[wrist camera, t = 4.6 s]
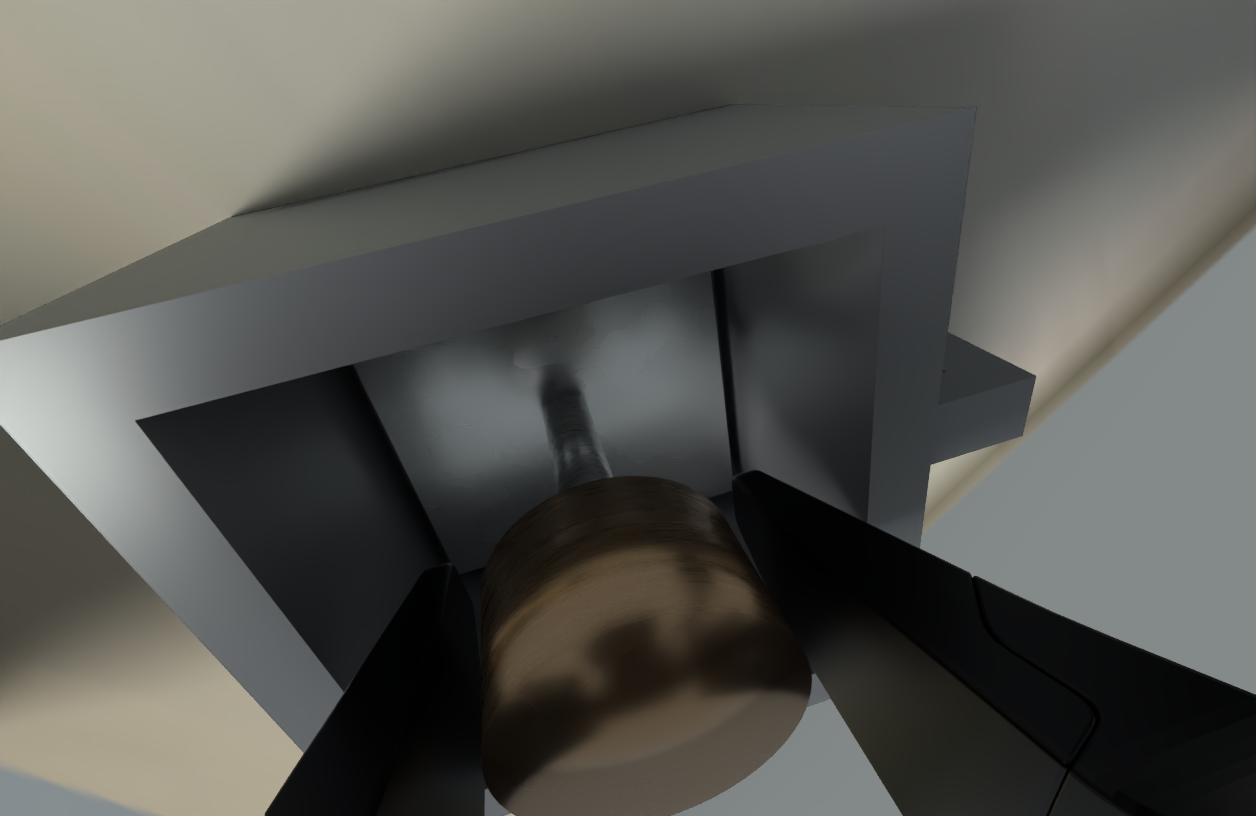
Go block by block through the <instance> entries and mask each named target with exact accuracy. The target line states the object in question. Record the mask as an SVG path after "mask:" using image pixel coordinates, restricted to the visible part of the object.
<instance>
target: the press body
mask: <svg viewBox="0 0 1256 816" xmlns="http://www.w3.org/2000/svg"><path fill="white" fill-rule="evenodd" d="M976 108H977V107H911V106H841V105H771V104H731V105H727V106H722V107H718V108H713V109H709V110H705V111H700V112H696V113H691V114H687V115H682V116H678V117H674V118H669V119H665V120H660V121H656V122H651V123H647V124H643V125H638V126H634V127H629V128H625V129H621V130H616V131H612V132H607V133H603V134H598V135H594V136H590V137H585V138H581V139H576V140H572V141H567V142H563V143H559V144H554V145H550V146H545V147H541V148H536V149H532V150H528V151H523V152H519V153H514V154H510V155H505V156H501V157H497V158H492V159H488V160H483V161H479V162H474V163H470V164H466V165H461V166H457V167H452V168H448V169H443V170H439V171H435V172H430V173H426V174H421V175H417V176H412V177H408V178H404V179H399V180H395V181H390V182H386V183H381V184H377V185H373V186H368V187H364V188H359V189H355V190H350V191H346V192H342V193H337V194H333V195H328V196H324V197H320V198H315V199H311V200H306V201H302V202H297V203H293V204H289V205H284V206H280V207H275V208H271V209H266V210H262V211H258V212H253V213H249V214H244V215H240V216H235V217H231V218H227V219H225V220H223V221H221V222H219V223H217V224H215V225H213V226H210V227H208V228H206V229H204V230H202V231H200V232H198V233H196V234H193V235H191V236H189V237H187V238H185V239H183V240H181V241H179V242H177V243H174V244H172V245H170V246H168V247H166V248H164V249H162V250H160V251H157V252H155V253H153V254H151V255H149V256H147V257H145V258H143V259H141V260H138V261H136V262H134V263H132V264H130V265H128V266H126V267H124V268H121V269H119V270H117V271H115V272H113V273H111V274H109V275H107V276H105V277H102V278H100V279H98V280H96V281H94V282H92V283H90V284H88V285H85V286H83V287H81V288H79V289H77V290H75V291H73V292H71V293H69V294H66V295H64V296H62V297H60V298H58V299H56V300H54V301H52V302H49V303H47V304H45V305H43V306H41V307H39V308H37V309H35V310H33V311H30V312H28V313H26V314H24V315H22V316H20V317H18V318H16V319H13V320H11V321H9V322H7V323H5V324H3V325H1V326H0V425H1V426H2V427H3V428H4V429H5V430H6V431H7V433H8V434H9V435H10V436H11V437H12V438H13V439H14V440H15V441H16V442H17V443H18V444H19V445H20V447H21V448H22V449H23V450H24V451H25V452H26V453H27V454H28V455H29V456H30V457H31V458H32V460H33V461H34V462H35V463H36V464H37V465H38V466H39V467H40V468H41V469H42V470H43V471H44V473H45V474H46V475H47V476H48V477H49V478H50V479H51V480H52V481H53V482H54V483H55V484H56V485H57V487H58V488H59V489H60V490H61V491H62V492H63V493H64V494H65V495H66V496H67V497H68V498H69V500H70V501H71V502H72V503H73V504H74V505H75V506H76V507H77V508H78V509H79V510H80V511H81V513H82V514H83V515H84V516H85V517H86V518H87V519H88V520H89V521H90V522H91V523H92V524H93V525H94V527H95V528H96V529H97V530H98V531H99V532H100V533H101V534H102V535H103V536H104V537H105V538H106V540H107V541H108V542H109V543H110V544H111V545H112V546H113V547H114V548H115V549H116V550H117V551H118V552H119V554H120V555H121V556H122V557H123V558H124V559H125V560H126V561H127V562H128V563H129V564H130V565H131V567H132V568H133V569H134V570H135V571H136V572H137V573H138V574H139V575H140V576H141V577H142V578H143V580H144V581H145V582H146V583H147V584H148V585H149V586H150V587H151V588H152V589H153V590H154V591H155V592H156V594H157V595H158V596H159V597H160V598H161V599H162V600H163V601H164V602H165V603H166V604H167V605H168V607H169V608H170V609H171V610H172V611H173V612H174V613H175V614H176V615H177V616H178V617H179V618H180V620H181V621H182V622H183V623H184V624H185V625H186V626H187V627H188V628H189V629H190V630H191V631H192V632H193V634H194V635H195V636H196V637H197V638H198V639H199V640H200V641H201V642H202V643H203V644H204V645H205V647H206V648H207V649H208V650H209V651H210V652H211V653H212V654H213V655H214V656H215V657H216V658H217V660H218V661H219V662H220V663H221V664H222V665H223V666H224V667H225V668H226V669H227V670H228V671H229V672H230V674H231V675H232V676H233V677H234V678H235V679H236V680H237V681H238V682H239V683H240V684H241V685H242V687H243V688H244V689H245V690H246V691H247V692H248V693H249V694H250V695H251V696H252V697H253V698H254V700H255V701H256V702H257V703H258V704H259V705H260V706H261V707H262V708H263V709H264V710H265V711H266V712H267V714H268V715H269V716H270V717H271V718H272V719H273V720H274V721H275V722H276V723H277V724H278V725H279V727H280V728H281V729H282V730H283V731H284V732H285V733H286V734H287V735H288V736H289V737H290V738H291V739H292V741H293V742H294V743H295V744H296V745H297V746H298V747H299V748H300V749H301V750H302V751H303V752H305V751H306V749H307V748H308V746H309V745H310V743H311V742H312V740H313V739H314V737H315V736H316V734H317V733H318V731H319V730H320V728H321V726H322V725H323V723H324V722H325V720H326V719H327V717H328V716H329V714H330V713H331V711H332V710H333V708H334V707H335V705H336V704H337V702H338V700H339V699H340V697H341V696H342V694H343V693H344V691H345V690H346V688H347V687H348V685H349V684H350V682H351V681H352V679H353V677H354V676H355V674H356V673H357V671H358V670H359V668H360V667H361V665H362V664H363V662H364V661H365V659H366V658H367V656H368V655H369V653H370V651H371V650H372V648H373V647H374V645H375V644H376V642H377V641H378V639H379V638H380V636H381V635H382V633H383V632H384V630H385V629H386V627H387V625H388V624H389V622H390V621H391V619H392V618H393V616H394V615H395V613H396V612H397V610H398V609H399V607H400V606H401V604H402V602H403V601H404V599H405V598H406V596H407V595H408V593H409V592H410V590H411V589H412V587H413V586H414V584H415V583H416V581H417V580H418V578H419V576H420V575H421V574H422V573H423V572H424V571H425V570H427V569H429V568H432V567H436V566H439V565H442V564H446V563H450V564H451V562H450V560H449V558H448V556H447V554H446V552H445V550H444V548H443V546H442V544H441V541H440V539H439V537H438V535H437V533H436V531H435V529H434V527H433V525H432V523H431V521H430V519H429V517H428V515H427V513H426V511H425V509H424V507H423V505H422V503H421V501H420V499H419V497H418V495H417V493H416V491H415V489H414V487H413V485H412V483H411V481H410V479H409V477H408V475H407V473H406V471H405V469H404V467H403V465H402V463H401V461H400V459H399V456H398V454H397V452H396V450H395V448H394V446H393V444H392V442H391V440H390V438H389V436H388V434H387V432H386V430H385V428H384V426H383V424H382V422H381V420H380V418H379V416H378V414H377V412H376V410H375V408H374V406H373V404H372V402H371V400H370V398H369V396H368V394H367V392H366V390H365V388H364V386H363V384H362V382H361V380H360V378H359V376H358V373H357V371H356V369H355V367H354V365H353V364H355V363H358V362H362V361H366V360H370V359H374V358H378V357H382V356H385V355H389V354H393V353H397V352H401V351H405V350H408V349H412V348H416V347H420V346H424V345H428V344H432V343H435V342H439V341H443V340H447V339H451V338H455V337H459V336H462V335H466V334H470V333H474V332H478V331H482V330H485V329H489V328H493V327H497V326H501V325H505V324H509V323H512V322H516V321H520V320H524V319H528V318H532V317H536V316H539V315H543V314H547V313H551V312H555V311H559V310H562V309H566V308H570V307H574V306H578V305H582V304H586V303H589V302H593V301H597V300H601V299H605V298H609V297H613V296H616V295H620V294H624V293H628V292H632V291H636V290H639V289H643V288H647V287H651V286H655V285H659V284H663V283H666V282H670V281H674V280H678V279H682V278H686V277H690V276H693V275H697V274H701V273H705V272H709V271H711V278H712V287H713V296H714V306H715V315H716V325H717V334H718V344H719V353H720V362H721V372H722V381H723V391H724V400H725V410H726V419H727V428H728V438H729V447H730V457H731V466H732V476H733V477H734V476H735V475H738V474H741V473H745V472H748V471H751V470H760V471H762V472H764V473H766V474H768V475H770V476H772V477H774V478H776V479H778V480H780V481H782V482H785V483H787V484H789V485H791V486H793V487H795V488H797V489H799V490H801V491H803V492H805V493H807V494H809V495H811V496H813V497H815V498H817V499H819V500H821V501H824V502H826V503H828V504H830V505H832V506H834V507H836V508H838V509H840V510H842V511H844V512H846V513H848V514H850V515H852V516H854V517H856V518H858V519H860V520H863V521H865V522H867V523H869V524H871V525H873V526H875V527H877V528H879V529H881V530H883V531H885V532H887V533H889V534H891V535H893V536H895V537H897V538H899V539H902V540H904V541H906V542H908V543H910V544H912V545H914V546H916V547H918V548H920V542H921V534H922V527H923V519H924V511H925V503H926V496H927V488H928V480H929V472H930V465H931V464H935V463H938V462H941V461H944V460H947V459H950V458H954V457H957V456H960V455H963V454H966V453H970V452H973V451H976V450H979V449H982V448H985V447H989V446H992V445H995V444H998V443H1001V442H1004V441H1008V440H1011V439H1014V438H1017V437H1020V436H1023V431H1024V427H1025V423H1026V418H1027V414H1028V410H1029V405H1030V401H1031V397H1032V392H1033V388H1034V384H1035V379H1036V376H1035V375H1033V374H1031V373H1029V372H1027V371H1025V370H1023V369H1021V368H1019V367H1017V366H1015V365H1013V364H1011V363H1009V362H1007V361H1005V360H1003V359H1001V358H999V357H997V356H995V355H993V354H991V353H989V352H987V351H985V350H983V349H981V348H979V347H976V346H974V345H972V344H970V343H968V342H966V341H964V340H962V339H960V338H958V337H956V336H954V335H952V334H950V333H948V325H949V317H950V310H951V302H952V294H953V286H954V279H955V271H956V263H957V255H958V248H959V240H960V232H961V224H962V217H963V209H964V201H965V193H966V186H967V178H968V170H969V162H970V155H971V147H972V139H973V131H974V124H975V116H976ZM708 499H709V500H711V501H712V502H713V503H714V505H715V506H716V507H717V508H718V509H719V510H720V511H721V513H722V514H723V516H724V517H725V519H726V521H727V522H728V524H729V526H730V527H731V529H732V531H733V532H734V534H735V536H736V537H737V539H738V541H739V542H740V544H741V546H742V548H743V549H744V551H745V553H746V554H747V556H748V558H749V559H750V561H751V563H752V564H753V566H754V568H755V569H756V571H757V573H758V575H759V576H760V578H761V580H762V581H763V579H762V577H761V575H760V573H759V571H758V569H757V566H756V564H755V562H754V560H753V558H752V556H751V554H750V551H749V549H748V547H747V545H746V543H745V541H744V539H743V536H742V534H741V532H740V530H739V527H738V525H737V521H736V517H735V510H734V501H733V492H732V491H730V492H727V493H723V494H720V495H717V496H714V497H710V498H708ZM484 570H485V567H482V568H479V569H476V570H473V571H469V572H466V573H463V574H460V577H461V579H462V581H463V583H464V585H465V587H466V589H467V591H468V593H469V595H470V598H471V600H472V603H473V607H474V611H475V620H476V629H477V638H478V647H479V657H480V666H481V583H482V578H483V573H484ZM763 583H764V581H763ZM764 585H765V583H764ZM810 667H811V666H810ZM811 674H812V687H811V694H810V698H809V702H808V705H807V707H808V706H811V705H814V704H817V703H820V702H823V701H825V700H828V699H831V698H830V697H829V695H828V693H827V692H826V690H825V688H824V687H823V685H822V684H821V682H820V680H819V679H818V677H817V675H816V674H815V672H814V671H813V669H812V667H811ZM507 814H510V812H509V811H507V810H506V809H505V808H504V807H503V806H501V805H500V804H499V803H498V802H497V801H496V800H495V798H494V797H493V796H492V795H491V793H490V791H489V789H488V787H487V785H486V783H485V816H504V815H507Z"/></svg>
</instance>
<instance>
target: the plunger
mask: <svg viewBox="0 0 1256 816" xmlns="http://www.w3.org/2000/svg"><path fill="white" fill-rule="evenodd" d="M353 365H354V367H355V369H356V371H357V373H358V376H359V378H360V380H361V382H362V384H363V386H364V388H365V390H366V392H367V394H368V396H369V398H370V400H371V402H372V404H373V406H374V408H375V410H376V412H377V414H378V416H379V418H380V420H381V422H382V424H383V426H384V428H385V430H386V432H387V434H388V436H389V438H390V440H391V442H392V444H393V446H394V448H395V450H396V452H397V454H398V456H399V459H400V461H401V463H402V465H403V467H404V469H405V471H406V473H407V475H408V477H409V479H410V481H411V483H412V485H413V487H414V489H415V491H416V493H417V495H418V497H419V499H420V501H421V503H422V505H423V507H424V509H425V511H426V513H427V515H428V517H429V519H430V521H431V523H432V525H433V527H434V529H435V531H436V533H437V535H438V537H439V539H440V541H441V544H442V546H443V548H444V550H445V552H446V554H447V556H448V558H449V560H450V562H451V564H453V565H454V566H455V567H456V569H457V571H458V573H459V575H460V574H463V573H466V572H469V571H473V570H476V569H479V568H482V567H485V570H484V573H483V578H482V583H481V714H482V771H483V776H484V781H485V783H486V785H487V787H488V789H489V791H490V793H491V795H492V796H493V797H494V798H495V800H496V801H497V802H498V803H499V804H500V805H501V806H503V807H504V808H505V809H506V810H507V811H509V812H510V813H512V814H514V815H516V816H670V815H673V814H676V813H679V812H682V811H684V810H687V809H689V808H692V807H694V806H697V805H699V804H701V803H703V802H705V801H707V800H709V799H711V798H713V797H715V796H717V795H719V794H720V793H722V792H724V791H726V790H727V789H729V788H731V787H732V786H734V785H735V784H737V783H739V782H740V781H742V780H743V779H745V778H746V777H747V776H749V775H750V774H751V773H753V772H754V771H755V770H757V769H758V768H759V767H760V766H762V765H763V764H764V763H765V762H766V761H767V760H768V759H769V758H770V757H772V756H773V755H774V754H775V753H776V752H777V750H778V749H779V748H780V747H781V746H782V745H783V744H784V743H785V742H786V741H787V739H788V738H789V736H790V735H791V734H792V733H793V731H794V730H795V728H796V727H797V725H798V723H799V722H800V720H801V718H802V716H803V714H804V712H805V710H806V707H807V705H808V702H809V698H810V694H811V687H812V674H811V667H810V664H809V661H808V658H807V656H806V654H805V652H804V651H803V649H802V647H801V645H800V644H799V642H798V640H797V639H796V637H795V635H794V634H793V632H792V630H791V629H790V627H789V625H788V624H787V622H786V620H785V618H784V617H783V615H782V613H781V612H780V610H779V608H778V607H777V605H776V603H775V602H774V600H773V598H772V597H771V595H770V593H769V591H768V590H767V588H766V586H765V585H764V583H763V581H762V580H761V578H760V576H759V575H758V573H757V571H756V569H755V568H754V566H753V564H752V563H751V561H750V559H749V558H748V556H747V554H746V553H745V551H744V549H743V548H742V546H741V544H740V542H739V541H738V539H737V537H736V536H735V534H734V532H733V531H732V529H731V527H730V526H729V524H728V522H727V521H726V519H725V517H724V516H723V514H722V513H721V511H720V510H719V509H718V508H717V507H716V506H715V505H714V503H713V502H712V501H711V500H709V499H708V498H710V497H714V496H717V495H720V494H723V493H727V492H730V491H732V479H733V476H732V466H731V457H730V447H729V438H728V428H727V419H726V410H725V400H724V391H723V381H722V372H721V362H720V353H719V344H718V334H717V325H716V315H715V306H714V296H713V287H712V278H711V271H709V272H705V273H701V274H697V275H693V276H690V277H686V278H682V279H678V280H674V281H670V282H666V283H663V284H659V285H655V286H651V287H647V288H643V289H639V290H636V291H632V292H628V293H624V294H620V295H616V296H613V297H609V298H605V299H601V300H597V301H593V302H589V303H586V304H582V305H578V306H574V307H570V308H566V309H562V310H559V311H555V312H551V313H547V314H543V315H539V316H536V317H532V318H528V319H524V320H520V321H516V322H512V323H509V324H505V325H501V326H497V327H493V328H489V329H485V330H482V331H478V332H474V333H470V334H466V335H462V336H459V337H455V338H451V339H447V340H443V341H439V342H435V343H432V344H428V345H424V346H420V347H416V348H412V349H408V350H405V351H401V352H397V353H393V354H389V355H385V356H382V357H378V358H374V359H370V360H366V361H362V362H358V363H355V364H353Z"/></svg>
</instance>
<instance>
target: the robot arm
mask: <svg viewBox="0 0 1256 816" xmlns="http://www.w3.org/2000/svg"><path fill="white" fill-rule="evenodd" d="M732 492H733V501H734V510H735V517H736V521H737V525H738V527H739V530H740V532H741V534H742V536H743V539H744V541H745V543H746V545H747V547H748V549H749V551H750V554H751V556H752V558H753V560H754V562H755V564H756V566H757V569H758V571H759V573H760V575H761V577H762V579H763V581H764V583H765V586H766V588H767V590H768V591H769V593H770V595H771V597H772V598H773V600H774V602H775V603H776V605H777V607H778V608H779V610H780V612H781V613H782V615H783V617H784V618H785V620H786V622H787V624H788V625H789V627H790V629H791V630H792V632H793V634H794V635H795V637H796V639H797V640H798V642H799V644H800V645H801V647H802V649H803V651H804V652H805V654H806V656H807V658H808V661H809V664H810V666H811V667H812V669H813V671H814V672H815V674H816V675H817V677H818V679H819V680H820V682H821V684H822V685H823V687H824V688H825V690H826V692H827V693H828V695H829V697H830V698H831V700H832V701H833V703H834V704H835V706H836V708H837V710H838V711H839V713H840V714H841V716H842V718H843V719H844V721H845V722H846V724H847V726H848V727H849V729H850V731H851V732H852V734H853V735H854V737H855V739H856V740H857V742H858V744H859V745H860V747H861V749H862V750H863V752H864V753H865V755H866V757H867V758H868V760H869V762H870V763H871V765H872V766H873V768H874V770H875V771H876V773H877V775H878V776H879V778H880V779H881V781H882V783H883V784H884V786H885V788H886V789H887V791H888V792H889V794H890V796H891V797H892V799H893V800H894V802H895V804H896V805H897V807H898V809H899V810H900V812H901V814H902V815H903V816H1256V695H1255V694H1253V693H1250V692H1248V691H1245V690H1243V689H1240V688H1238V687H1235V686H1233V685H1230V684H1228V683H1225V682H1223V681H1220V680H1218V679H1215V678H1213V677H1210V676H1208V675H1205V674H1203V673H1200V672H1198V671H1195V670H1193V669H1190V668H1188V667H1186V666H1183V665H1181V664H1178V663H1176V662H1173V661H1171V660H1168V659H1166V658H1163V657H1161V656H1158V655H1156V654H1153V653H1151V652H1148V651H1146V650H1144V649H1141V648H1138V647H1136V646H1133V645H1131V644H1129V643H1126V642H1124V641H1121V640H1119V639H1116V638H1114V637H1111V636H1109V635H1106V634H1104V633H1102V632H1099V631H1097V630H1094V629H1092V628H1090V627H1087V626H1085V625H1083V624H1080V623H1078V622H1076V621H1073V620H1071V619H1068V618H1066V617H1064V616H1061V615H1059V614H1056V613H1054V612H1052V611H1050V610H1048V609H1046V608H1043V607H1041V606H1039V605H1037V604H1035V603H1032V602H1030V601H1028V600H1026V599H1024V598H1022V597H1019V596H1018V595H1015V594H1013V593H1011V592H1009V591H1007V590H1005V589H1003V588H1000V587H998V586H996V585H994V584H992V583H990V582H988V581H986V580H984V579H982V578H980V577H978V576H974V577H972V576H971V574H970V573H969V572H967V571H965V570H963V569H961V568H959V567H957V566H955V565H953V564H951V563H949V562H947V561H945V560H943V559H940V558H938V557H936V556H934V555H932V554H930V553H928V552H926V551H924V550H922V549H920V548H918V547H916V546H914V545H912V544H910V543H908V542H906V541H904V540H902V539H899V538H897V537H895V536H893V535H891V534H889V533H887V532H885V531H883V530H881V529H879V528H877V527H875V526H873V525H871V524H869V523H867V522H865V521H863V520H860V519H858V518H856V517H854V516H852V515H850V514H848V513H846V512H844V511H842V510H840V509H838V508H836V507H834V506H832V505H830V504H828V503H826V502H824V501H821V500H819V499H817V498H815V497H813V496H811V495H809V494H807V493H805V492H803V491H801V490H799V489H797V488H795V487H793V486H791V485H789V484H787V483H785V482H782V481H780V480H778V479H776V478H774V477H772V476H770V475H768V474H766V473H764V472H762V471H760V470H751V471H748V472H745V473H741V474H738V475H735V476H734V477H733V479H732ZM265 816H485V781H484V776H483V771H482V714H481V666H480V657H479V647H478V638H477V629H476V620H475V611H474V607H473V603H472V600H471V598H470V595H469V593H468V591H467V589H466V587H465V585H464V583H463V581H462V579H461V577H460V575H459V573H458V571H457V569H456V567H455V566H454V565H453V564H450V563H446V564H442V565H439V566H436V567H432V568H429V569H427V570H425V571H424V572H423V573H422V574H421V575H420V576H419V578H418V580H417V581H416V583H415V584H414V586H413V587H412V589H411V590H410V592H409V593H408V595H407V596H406V598H405V599H404V601H403V602H402V604H401V606H400V607H399V609H398V610H397V612H396V613H395V615H394V616H393V618H392V619H391V621H390V622H389V624H388V625H387V627H386V629H385V630H384V632H383V633H382V635H381V636H380V638H379V639H378V641H377V642H376V644H375V645H374V647H373V648H372V650H371V651H370V653H369V655H368V656H367V658H366V659H365V661H364V662H363V664H362V665H361V667H360V668H359V670H358V671H357V673H356V674H355V676H354V677H353V679H352V681H351V682H350V684H349V685H348V687H347V688H346V690H345V691H344V693H343V694H342V696H341V697H340V699H339V700H338V702H337V704H336V705H335V707H334V708H333V710H332V711H331V713H330V714H329V716H328V717H327V719H326V720H325V722H324V723H323V725H322V726H321V728H320V730H319V731H318V733H317V734H316V736H315V737H314V739H313V740H312V742H311V743H310V745H309V746H308V748H307V749H306V751H305V752H304V754H303V756H302V757H301V759H300V760H299V762H298V763H297V765H296V766H295V768H294V769H293V771H292V772H291V774H290V775H289V777H288V779H287V780H286V782H285V783H284V785H283V786H282V788H281V789H280V791H279V792H278V794H277V795H276V797H275V798H274V800H273V801H272V803H271V805H270V806H269V808H268V809H267V811H266V812H265Z"/></svg>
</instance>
